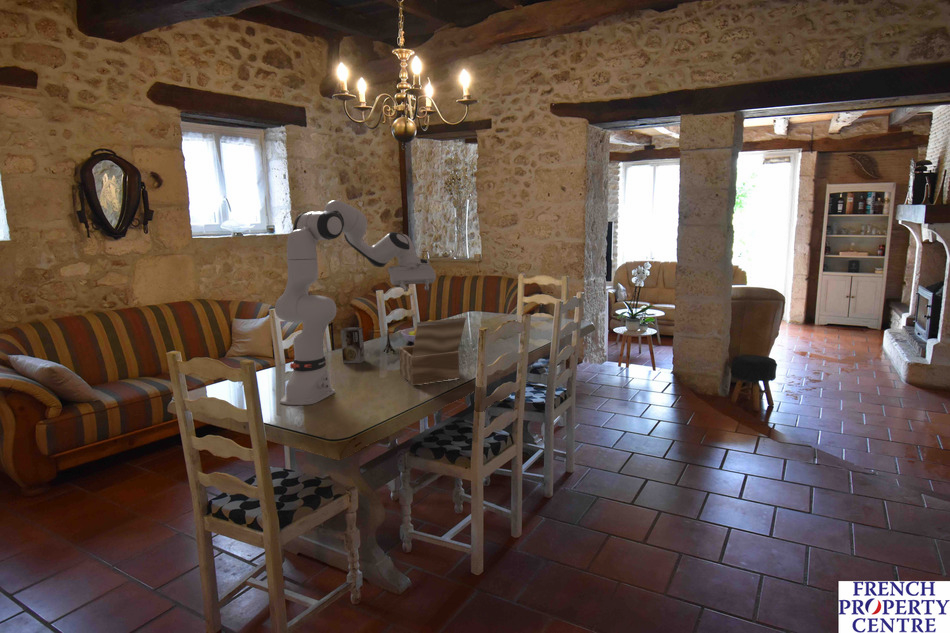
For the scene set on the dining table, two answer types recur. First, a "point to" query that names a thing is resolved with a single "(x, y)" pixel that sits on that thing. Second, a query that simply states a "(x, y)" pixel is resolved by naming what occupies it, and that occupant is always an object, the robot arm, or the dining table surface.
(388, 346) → the eiffel tower figurine
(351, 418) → the dining table surface
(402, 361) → the carton
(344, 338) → the coffee box
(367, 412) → the dining table surface
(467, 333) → the dining table surface
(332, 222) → the robot arm
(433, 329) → the carton flap
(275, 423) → the dining table surface
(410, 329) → the fruit bowl
